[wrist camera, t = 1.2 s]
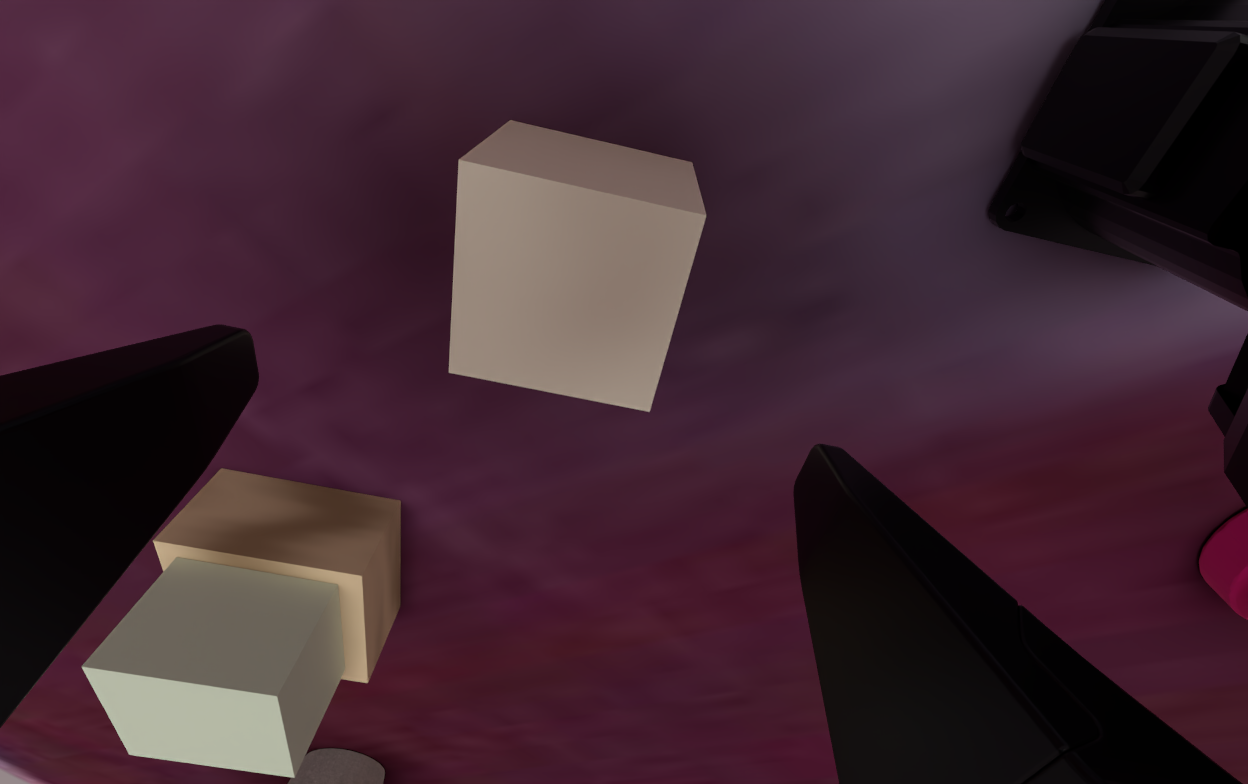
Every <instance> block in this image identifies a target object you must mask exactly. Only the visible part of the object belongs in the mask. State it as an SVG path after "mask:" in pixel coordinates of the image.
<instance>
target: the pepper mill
mask: <svg viewBox="0 0 1248 784" xmlns="http://www.w3.org/2000/svg"><path fill="white" fill-rule="evenodd" d="M1199 567H1200V573H1201V575H1202V577H1203V578H1204V580H1205V581H1206V582H1207V584H1208V585H1209V586H1210V587H1211V588H1212V589H1213V590H1214V591H1215V592H1216V593H1217V594H1218V595H1219V596H1220V597H1221V598H1222V599H1223V600H1224V601H1225V602H1226V603H1227V604H1228V605H1229V606H1230V607H1231V608H1232V609H1233V610H1234V611H1235V612H1236V613H1237V614H1239V615H1240V616H1242V617H1243V618H1245V619H1247V620H1248V508H1247V509H1245V510H1243V511H1242V512H1240V513H1238V514H1237V515H1235V516H1234V517H1232V518H1231V519H1229V520H1228V521H1227V522H1225V523H1224V524H1223V525H1222V526H1221V527H1220V528H1219V529H1218V530H1216V531H1215V532H1214V533H1213V535H1212V536H1211V537H1210V538H1209V540H1208V541H1207V542H1206V544H1205V545H1204V547H1203V549H1202V552H1201V555H1200V558H1199Z"/></svg>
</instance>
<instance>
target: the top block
mask: <svg viewBox="0 0 1248 784" xmlns="http://www.w3.org/2000/svg"><path fill="white" fill-rule="evenodd" d="M82 669H83V670H84V672H85V674H86V676H87V678H88V680H89V681H90V683H91V685H92V687H93V689H94V691H95V692H96V694H97V696H98V698H99V700H100V702H101V703H102V705H103V707H104V709H105V711H106V713H107V714H108V716H109V718H110V720H111V722H112V724H113V725H114V727H115V729H116V731H117V733H118V735H119V736H120V738H121V740H122V742H123V744H124V746H125V747H126V749H127V751H128V753H129V755H135V756H142V757H149V758H156V759H163V760H170V761H177V762H185V763H192V764H199V765H206V766H213V767H220V768H228V769H235V770H242V771H249V772H256V773H263V774H270V775H278V776H285V777H292V778H295V776H296V774H297V772H298V770H299V768H300V766H301V763H302V761H303V759H304V757H305V755H306V753H307V750H308V748H309V746H310V744H311V742H312V740H313V738H314V735H315V733H316V731H317V729H318V727H319V725H320V722H321V720H322V718H323V716H324V714H325V712H326V710H327V707H328V705H329V703H330V701H331V699H332V697H333V694H334V692H335V690H336V688H337V686H338V684H339V682H340V679H341V677H342V675H343V673H344V671H345V659H344V647H343V636H342V624H341V613H340V601H339V590H338V584H332V583H326V582H320V581H314V580H308V579H302V578H297V577H291V576H285V575H279V574H273V573H267V572H261V571H255V570H249V569H244V568H238V567H232V566H226V565H220V564H214V563H208V562H202V561H196V560H191V559H185V558H179V557H176V558H175V559H174V561H173V562H172V563H171V564H170V565H169V566H168V567H167V569H166V570H165V571H164V572H163V573H162V574H161V576H160V577H159V578H158V579H157V580H156V581H155V582H154V584H153V585H152V586H151V587H150V588H149V589H148V591H147V592H146V593H145V594H144V595H143V596H142V597H141V599H140V600H139V601H138V602H137V603H136V604H135V605H134V607H133V608H132V609H131V610H130V611H129V612H128V614H127V615H126V616H125V617H124V618H123V619H122V620H121V622H120V623H119V624H118V625H117V626H116V627H115V629H114V630H113V631H112V632H111V633H110V634H109V635H108V637H107V638H106V639H105V640H104V641H103V642H102V644H101V645H100V646H99V647H98V648H97V649H96V650H95V652H94V653H93V654H92V655H91V656H90V657H89V658H88V660H87V661H86V662H85V663H84V664H83V665H82Z"/></svg>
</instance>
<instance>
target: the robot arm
mask: <svg viewBox="0 0 1248 784" xmlns="http://www.w3.org/2000/svg"><path fill="white" fill-rule="evenodd" d="M1021 146H1022V150H1021V152H1020V154H1019V156H1018V157H1017V159H1016V161H1015V163H1014V165H1013V166H1012V168H1011V170H1010V172H1009V173H1008V175H1007V177H1006V179H1005V181H1004V182H1003V184H1002V186H1001V188H1000V190H999V191H998V193H997V195H996V197H995V198H994V200H993V202H992V204H991V206H990V209H989V219H990V220H991V222H992V223H993V224H995V225H996V226H998V227H1000V228H1002V229H1003V230H1006V231H1010V232H1014V233H1019V234H1023V235H1027V236H1031V237H1036V238H1040V239H1044V240H1048V241H1053V242H1057V243H1061V244H1066V245H1070V246H1074V247H1078V248H1083V249H1087V250H1091V251H1095V252H1100V253H1104V254H1108V255H1112V256H1117V257H1121V258H1125V259H1130V260H1134V261H1138V262H1142V263H1147V264H1151V265H1155V266H1158V267H1160V268H1162V269H1164V270H1166V271H1168V272H1170V273H1172V274H1174V275H1176V276H1178V277H1180V278H1182V279H1184V280H1186V281H1188V282H1190V283H1192V284H1194V285H1196V286H1198V287H1200V288H1202V289H1204V290H1206V291H1208V292H1210V293H1212V294H1214V295H1216V296H1218V297H1220V298H1222V299H1224V300H1226V301H1228V302H1230V303H1232V304H1234V305H1236V306H1238V307H1240V308H1242V309H1244V310H1246V311H1248V0H1105V2H1104V4H1103V6H1102V8H1101V9H1100V11H1099V13H1098V15H1097V17H1096V18H1095V20H1094V22H1093V24H1092V25H1091V27H1090V29H1089V31H1088V33H1086V34H1085V35H1083V36H1082V37H1081V38H1080V39H1079V40H1078V42H1077V44H1076V46H1075V48H1074V49H1073V51H1072V53H1071V55H1070V57H1069V58H1068V60H1067V62H1066V64H1065V66H1064V67H1063V69H1062V71H1061V73H1060V75H1059V76H1058V78H1057V80H1056V82H1055V84H1054V85H1053V87H1052V89H1051V91H1050V93H1049V94H1048V96H1047V98H1046V100H1045V102H1044V103H1043V105H1042V107H1041V109H1040V111H1039V112H1038V114H1037V116H1036V118H1035V119H1034V121H1033V123H1032V125H1031V127H1030V128H1029V130H1028V132H1027V134H1026V136H1025V137H1024V139H1023V141H1022V144H1021ZM1015 203H1018V208H1017V211H1016V212H1015V213H1014V214H1013V215H1011V216H1009V217H1006V216H1005V215H1006V212H1007V210H1008V208H1009V207H1010V206H1011V205H1013V204H1015ZM258 381H259V373H258V367H257V361H256V355H255V349H254V343H253V339H252V336H251V334H250V333H249V332H248V331H247V330H245V329H241V328H236V327H231V326H226V325H212V326H208V327H204V328H200V329H195V330H191V331H187V332H183V333H179V334H174V335H170V336H166V337H162V338H157V339H153V340H149V341H145V342H141V343H136V344H132V345H128V346H124V347H119V348H115V349H111V350H107V351H103V352H98V353H94V354H90V355H86V356H82V357H77V358H73V359H69V360H65V361H60V362H56V363H52V364H48V365H44V366H39V367H35V368H31V369H27V370H22V371H18V372H14V373H10V374H6V375H1V376H0V728H1V727H2V725H3V724H4V723H5V722H6V720H7V719H8V718H9V716H10V715H11V714H12V713H13V711H14V710H15V709H16V708H17V706H18V705H19V704H20V703H21V701H22V700H23V699H24V698H25V696H26V695H27V694H28V693H29V691H30V690H31V689H32V688H33V686H34V685H35V684H36V683H37V681H38V680H39V679H40V678H41V676H42V675H43V674H44V673H45V671H46V670H47V669H48V668H49V666H50V665H51V664H52V662H53V661H54V660H55V659H56V657H57V656H58V655H59V654H60V652H61V651H62V650H63V649H64V647H65V646H66V645H67V644H68V642H69V641H70V640H71V639H72V637H73V636H74V635H75V634H76V632H77V631H78V630H79V629H80V627H81V626H82V625H83V624H84V622H85V621H86V620H87V619H88V617H89V616H90V615H91V613H92V612H93V611H94V610H95V608H96V607H97V606H98V605H99V603H100V602H101V601H102V600H103V598H104V597H105V596H106V595H107V593H108V592H109V591H110V590H111V588H112V587H113V586H114V585H115V583H116V582H117V581H118V580H119V578H120V577H121V576H122V575H123V573H124V572H125V571H126V570H127V568H128V567H129V566H130V564H131V563H132V562H133V561H134V559H135V558H136V557H137V556H138V554H139V553H140V552H141V551H142V549H143V548H144V547H145V546H146V544H147V543H148V542H149V541H150V539H151V538H152V537H153V536H154V534H155V533H156V532H157V531H158V529H159V528H160V527H161V526H162V524H163V523H164V522H165V521H166V519H167V518H168V517H169V515H170V514H171V513H172V512H173V510H174V509H175V508H176V507H177V505H178V504H179V503H180V502H181V500H182V499H183V498H184V497H185V495H186V494H187V493H188V492H189V490H190V489H191V488H192V487H193V485H194V484H195V483H196V482H197V480H198V479H199V478H200V476H201V475H202V474H203V472H204V471H205V470H206V468H207V467H208V465H209V464H210V462H211V461H212V459H213V458H214V456H215V455H216V453H217V452H218V450H219V449H220V447H221V445H222V444H223V442H224V441H225V439H226V437H227V436H228V434H229V432H230V431H231V429H232V428H233V426H234V424H235V423H236V421H237V420H238V418H239V416H240V415H241V413H242V412H243V410H244V408H245V407H246V405H247V404H248V402H249V400H250V399H251V397H252V396H253V394H254V392H255V390H256V388H257V385H258ZM1208 410H1209V412H1210V414H1211V416H1212V417H1213V419H1214V420H1215V422H1216V423H1217V425H1218V427H1219V428H1220V430H1221V431H1222V433H1223V435H1224V436H1225V438H1224V473H1225V474H1226V476H1227V477H1228V479H1229V480H1230V482H1231V483H1232V485H1233V486H1234V488H1235V489H1236V491H1237V492H1238V494H1239V496H1240V497H1241V499H1242V500H1243V502H1244V503H1245V505H1246V506H1247V508H1248V334H1247V336H1246V339H1245V341H1244V343H1243V345H1242V348H1241V350H1240V352H1239V355H1238V357H1237V359H1236V361H1235V364H1234V366H1233V368H1232V371H1231V373H1230V375H1229V377H1228V380H1227V382H1226V384H1223V385H1220V386H1218V387H1217V388H1216V391H1215V393H1214V395H1213V397H1212V400H1211V402H1210V404H1209V407H1208ZM794 507H795V521H796V535H797V549H798V562H799V572H800V579H801V585H802V591H803V596H804V601H805V607H806V612H807V617H808V622H809V627H810V633H811V638H812V643H813V648H814V654H815V659H816V664H817V669H818V675H819V680H820V685H821V690H822V695H823V701H824V706H825V711H826V716H827V722H828V727H829V732H830V737H831V742H832V748H833V753H834V758H835V763H836V769H837V774H838V779H839V784H1242V783H1241V782H1240V781H1238V780H1237V779H1236V778H1234V777H1233V776H1232V775H1230V774H1229V773H1228V772H1227V771H1225V770H1224V769H1223V768H1222V767H1220V766H1219V765H1218V764H1217V763H1215V762H1214V761H1213V760H1211V759H1210V758H1209V757H1208V756H1206V755H1205V754H1204V753H1203V752H1201V751H1200V750H1199V749H1197V748H1196V747H1195V746H1194V745H1192V744H1191V743H1190V742H1189V741H1187V740H1186V739H1185V738H1184V737H1182V736H1181V735H1180V734H1178V733H1177V732H1176V731H1175V730H1173V729H1172V728H1171V727H1170V726H1168V725H1167V724H1166V723H1165V722H1163V721H1162V720H1161V719H1159V718H1158V717H1157V716H1156V715H1154V714H1153V713H1152V712H1151V711H1149V710H1148V709H1147V708H1146V707H1144V706H1143V705H1142V704H1140V703H1139V702H1138V701H1137V700H1135V699H1134V698H1133V697H1132V696H1130V695H1129V694H1128V693H1127V692H1125V691H1124V690H1123V689H1122V688H1120V687H1119V686H1118V685H1117V684H1115V683H1114V682H1113V681H1112V680H1110V679H1109V678H1108V677H1107V676H1105V675H1104V674H1103V673H1102V672H1100V671H1099V670H1098V669H1097V668H1095V667H1094V666H1093V665H1092V664H1090V663H1089V662H1088V661H1087V660H1086V659H1084V658H1083V657H1082V656H1081V655H1079V654H1078V653H1077V652H1076V651H1075V650H1074V649H1072V648H1071V647H1070V646H1069V645H1068V644H1066V643H1065V642H1064V641H1063V640H1062V639H1061V638H1059V637H1058V636H1057V635H1056V634H1055V633H1054V632H1052V631H1051V630H1050V629H1049V628H1048V627H1046V626H1045V625H1044V624H1043V623H1042V622H1041V621H1040V620H1038V619H1037V618H1036V617H1035V616H1034V615H1033V614H1032V613H1030V612H1029V611H1028V610H1027V609H1026V608H1025V607H1024V606H1022V605H1019V606H1018V602H1017V601H1016V600H1015V599H1014V598H1013V597H1012V596H1011V595H1010V594H1009V593H1007V592H1006V591H1005V590H1004V589H1003V588H1002V587H1000V586H999V585H998V584H997V583H996V582H995V581H994V580H992V579H991V578H990V577H989V576H988V575H987V574H986V573H984V572H983V571H982V570H981V569H980V568H979V567H978V566H976V565H975V564H974V563H973V562H972V561H971V560H969V559H968V558H967V557H966V556H965V555H964V554H963V553H961V552H960V551H959V550H958V549H957V548H956V547H955V546H953V545H952V544H951V543H950V542H949V541H948V540H947V539H945V538H944V537H943V536H942V535H941V534H940V533H938V532H937V531H936V530H935V529H934V528H933V527H932V526H930V525H929V524H928V523H927V522H926V521H925V520H924V519H922V518H921V517H920V516H919V515H918V514H917V513H916V512H914V511H913V510H912V509H911V508H910V507H909V506H908V505H906V504H905V503H904V502H903V501H902V500H901V499H900V498H898V497H897V496H896V495H895V494H894V493H893V492H891V491H890V490H889V489H888V488H887V487H886V486H885V485H883V484H882V483H881V482H880V481H879V480H878V479H877V478H875V477H874V476H873V475H872V474H871V473H870V472H869V471H867V470H866V469H865V468H864V467H863V466H862V465H861V464H859V463H858V462H857V461H856V460H855V459H854V458H853V457H851V456H850V455H849V454H848V453H847V452H846V451H844V450H843V449H842V448H839V447H835V446H830V445H825V444H817V445H815V446H814V447H813V448H812V449H811V451H810V453H809V455H808V457H807V459H806V461H805V463H804V465H803V467H802V469H801V471H800V473H799V474H798V476H797V479H796V481H795V485H794Z"/></svg>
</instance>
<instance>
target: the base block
mask: <svg viewBox="0 0 1248 784" xmlns="http://www.w3.org/2000/svg"><path fill="white" fill-rule="evenodd" d="M153 542H154V545H155V548H156V551H157V554H158V557H159V560H160V562H161V565H162V568H163V571H165V570H166V569H167V567H168V566H169V565H170V564H171V563H172V562H173V561H174V559H175V558H176V557H179V558H185V559H191V560H196V561H202V562H208V563H214V564H220V565H226V566H232V567H238V568H244V569H249V570H255V571H261V572H267V573H273V574H279V575H285V576H291V577H297V578H302V579H308V580H314V581H320V582H326V583H332V584H338V590H339V601H340V613H341V624H342V636H343V647H344V659H345V671H344V673H343V675H342V677H341V679H345V680H351V681H358V682H364V683H368V681H369V679H370V677H371V674H372V672H373V670H374V667H375V665H376V663H377V660H378V658H379V655H380V653H381V651H382V648H383V646H384V644H385V641H386V639H387V636H388V634H389V632H390V629H391V627H392V625H393V622H394V620H395V618H396V615H397V613H398V610H399V608H400V570H401V501H400V500H394V499H388V498H383V497H377V496H372V495H366V494H361V493H355V492H350V491H344V490H339V489H333V488H328V487H322V486H317V485H311V484H305V483H300V482H294V481H289V480H283V479H278V478H272V477H267V476H261V475H256V474H250V473H245V472H239V471H233V470H228V469H222V468H221V469H220V470H219V471H218V472H217V473H216V474H215V476H214V477H213V478H212V479H211V480H210V481H209V482H208V483H207V484H206V485H205V486H204V487H203V488H202V489H201V490H200V491H199V492H198V494H197V495H196V496H195V497H194V498H193V499H192V500H191V501H190V502H189V503H188V504H187V505H186V506H185V507H184V508H183V509H182V510H181V512H180V513H179V514H178V515H177V516H176V517H175V518H174V519H173V520H172V521H171V522H170V523H169V524H168V525H167V526H166V527H165V528H164V530H163V531H162V532H161V533H160V534H159V535H158V536H157V537H156V538H155V539H154V540H153Z"/></svg>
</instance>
